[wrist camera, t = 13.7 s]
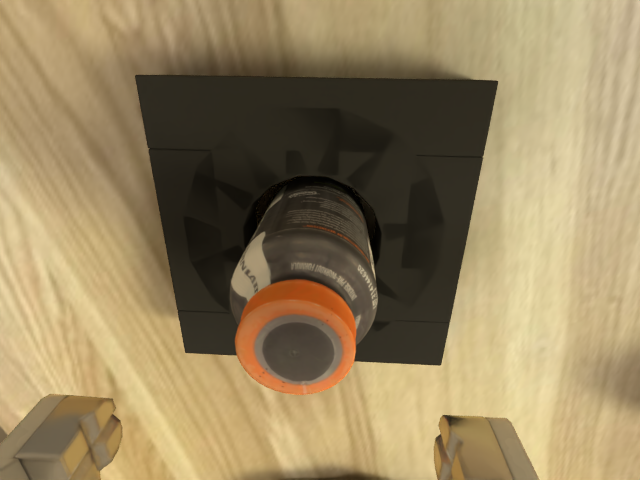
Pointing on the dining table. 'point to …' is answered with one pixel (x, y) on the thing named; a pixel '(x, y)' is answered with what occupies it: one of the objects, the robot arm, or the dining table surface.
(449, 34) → the dining table surface
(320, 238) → the pill bottle
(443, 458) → the robot arm
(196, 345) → the socket pad
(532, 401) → the dining table surface
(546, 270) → the dining table surface
